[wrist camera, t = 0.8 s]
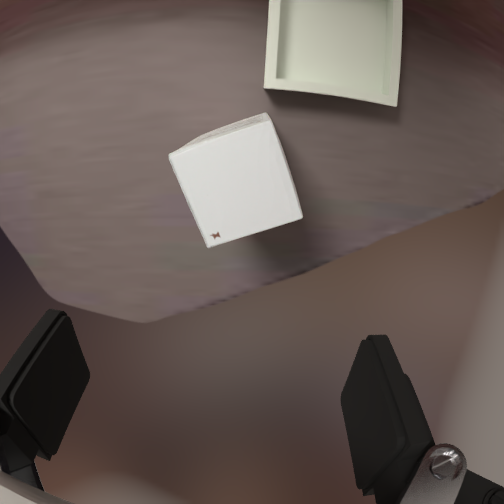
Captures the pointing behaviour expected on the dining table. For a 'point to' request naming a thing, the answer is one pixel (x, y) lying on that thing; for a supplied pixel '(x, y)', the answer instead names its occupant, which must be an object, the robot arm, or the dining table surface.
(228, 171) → the supplement box
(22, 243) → the dining table surface
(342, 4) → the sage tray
